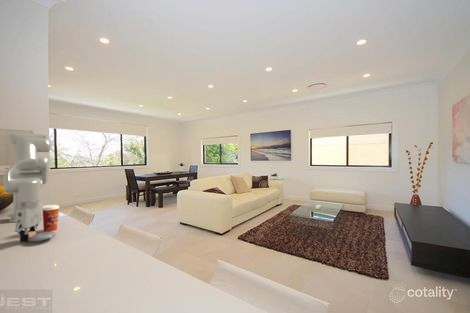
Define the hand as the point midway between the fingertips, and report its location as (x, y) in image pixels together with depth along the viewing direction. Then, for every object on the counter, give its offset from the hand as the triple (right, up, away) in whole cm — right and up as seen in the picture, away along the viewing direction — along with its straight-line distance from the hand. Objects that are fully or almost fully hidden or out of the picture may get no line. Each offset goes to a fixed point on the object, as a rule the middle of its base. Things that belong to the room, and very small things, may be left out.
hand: (28, 239), depth 105 cm
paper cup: (-2, -1, +15) cm, 15 cm away
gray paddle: (+5, +1, +1) cm, 5 cm away
